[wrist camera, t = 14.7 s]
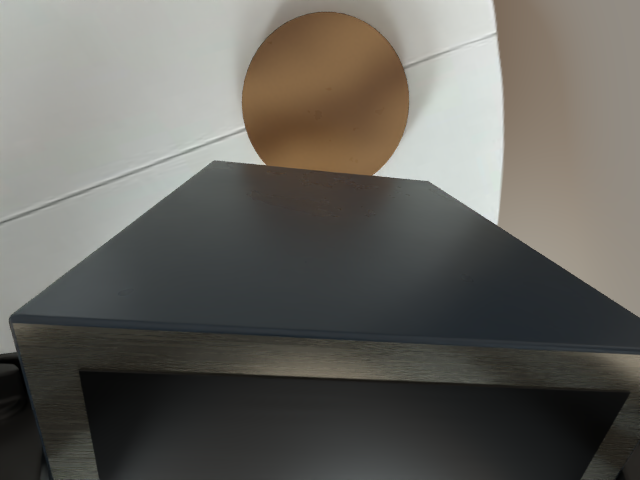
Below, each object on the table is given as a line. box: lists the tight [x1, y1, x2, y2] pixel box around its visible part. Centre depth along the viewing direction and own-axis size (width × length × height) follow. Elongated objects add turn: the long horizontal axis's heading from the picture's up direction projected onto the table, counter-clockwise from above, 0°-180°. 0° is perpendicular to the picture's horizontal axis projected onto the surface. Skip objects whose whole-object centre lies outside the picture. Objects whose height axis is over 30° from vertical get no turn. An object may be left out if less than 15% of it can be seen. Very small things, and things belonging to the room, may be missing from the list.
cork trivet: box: [242, 12, 409, 176], centre depth 30 cm, size 14×14×1 cm
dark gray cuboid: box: [9, 161, 640, 480], centre depth 12 cm, size 12×10×10 cm
